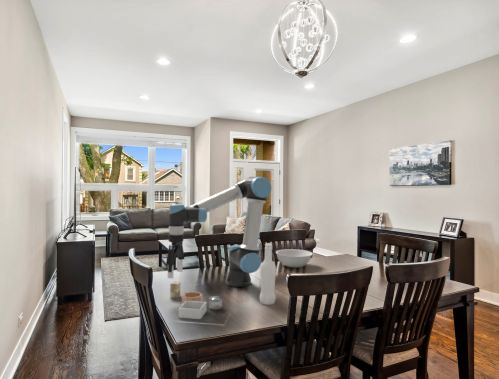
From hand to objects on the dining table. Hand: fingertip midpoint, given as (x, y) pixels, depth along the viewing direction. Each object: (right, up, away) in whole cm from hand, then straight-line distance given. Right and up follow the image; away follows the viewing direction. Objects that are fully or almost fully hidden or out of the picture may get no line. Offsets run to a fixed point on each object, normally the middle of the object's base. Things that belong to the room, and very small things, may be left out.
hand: (175, 274), depth 175 cm
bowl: (+72, -13, +74) cm, 104 cm away
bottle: (+48, -13, -4) cm, 50 cm away
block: (0, -12, 0) cm, 12 cm away
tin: (+22, -13, -14) cm, 29 cm away
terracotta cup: (+11, -13, -10) cm, 19 cm away
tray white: (+13, -13, -23) cm, 29 cm away
